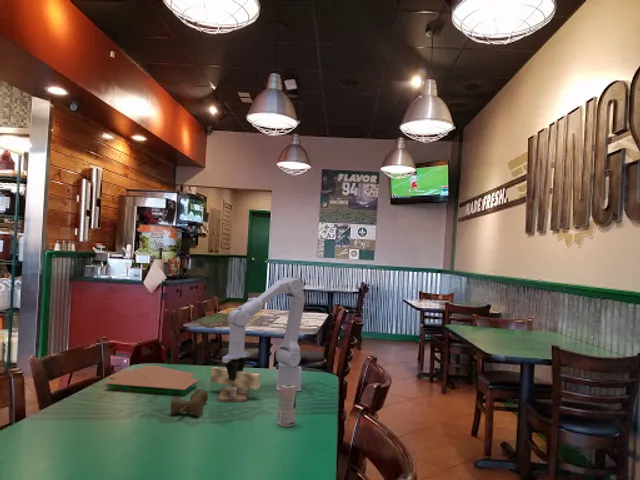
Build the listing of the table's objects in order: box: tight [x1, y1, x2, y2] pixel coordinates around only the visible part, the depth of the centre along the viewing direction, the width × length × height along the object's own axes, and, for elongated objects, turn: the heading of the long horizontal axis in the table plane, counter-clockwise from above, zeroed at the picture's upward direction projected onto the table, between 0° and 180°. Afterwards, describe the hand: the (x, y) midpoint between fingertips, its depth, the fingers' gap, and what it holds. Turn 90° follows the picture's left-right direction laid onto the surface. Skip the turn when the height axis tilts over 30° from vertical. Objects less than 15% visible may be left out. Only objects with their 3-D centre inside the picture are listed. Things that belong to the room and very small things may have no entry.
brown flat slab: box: [105, 365, 200, 396], centre depth 190 cm, size 23×33×8 cm
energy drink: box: [277, 384, 298, 428], centre depth 153 cm, size 5×5×12 cm
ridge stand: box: [217, 385, 249, 403], centre depth 182 cm, size 10×16×4 cm, turn 7°
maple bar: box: [210, 366, 261, 390], centre depth 182 cm, size 20×3×5 cm, turn 65°
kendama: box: [170, 388, 209, 418], centre depth 161 cm, size 6×10×20 cm
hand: (234, 379), depth 182 cm, fingers closed on maple bar, 3 cm apart
